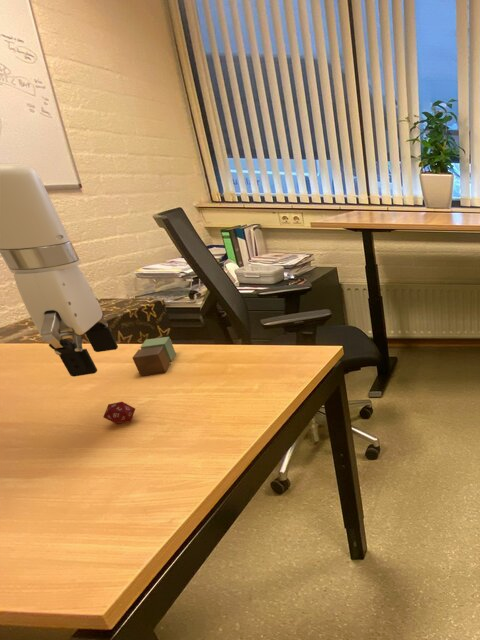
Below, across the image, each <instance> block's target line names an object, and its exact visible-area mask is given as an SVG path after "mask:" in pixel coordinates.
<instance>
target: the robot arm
mask: <svg viewBox="0 0 480 640" xmlns="http://www.w3.org/2000/svg"><path fill="white" fill-rule="evenodd" d="M0 255H1V258H2V259H3V261H4V263H5V265H6V266H7V267H8V270H9V272H10V273H12V274H13V278H14V281H15V284H16V287H17V290H18V293H19V295H20V298H21V300H22V302H23V304H24V306H25V309H26V310H27V313H28V314H29V316H30V319H31V321H32V323H33V324H34V326H35V328H36V330H37V332H38V333H39V336H40V337H41V338H42V339H43V340H44V341H45V342H46V343H48V346H49V348H50V349H52V350H54V354H56V355H57V356H59V358H60V360H61V362H62V363H63V365H64V367H65V368H66V371H67V373H68V374H69V376H71V377H74V378H75V377H81V376H87V375H93V374H96V373H98V368H97V367H96V365H95V362H94V361H93V359H92V357H91V355H90V353H89V351H88V349H87V348H83V342H82V341H83V340H82V335H85V336H86V338H87V340H88V341H89V344H90V347H92V349H93V351H94V352H95V353H101V352H109V351H116V350H118V349H119V345H118V343H117V341H116V340H115V337H114V335H113V334H112V333H113V332H112V331H111V329H110V327H109V323H108V321H107V320H106V319H105V318H104V315H105V313H104V311H103V310H102V308H101V305H100V300H99V299H98V297H97V296H96V295H95V293H94V290H93V289H92V287H91V285H90V282H88V279H87V278H86V276H85V275H84V273H83V271H82V270H81V268H80V265H81V264H82V262H81V260H80V258H79V256H78V253H77V252H76V249H75V247H74V245H73V243H72V241H71V239H70V237H69V235H68V233H67V230H66V229H65V226H64V224H63V222H62V220H61V217H60V216H59V214H58V212H57V210H56V208H55V206H54V204H53V202H52V200H51V197H50V195H49V193H48V191H47V189H46V187H45V185H44V183H43V181H42V179H41V177H40V174H39V173H38V172H37V171H36V170H35V169H34V168H32V167H31V166H30V165H27V164H24V163H19V162H0ZM68 339H71V340H72V341H70V340H68Z"/></svg>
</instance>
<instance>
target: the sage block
mask: <svg viewBox="0 0 480 640" xmlns="http://www.w3.org/2000/svg"><path fill="white" fill-rule="evenodd" d="M162 346H163V348H164V350H165V353H166V355H167V358H168V360H169V363H171V362H173V360H174V358H175V357H176V355H177V352H176V350H175V348H174V345H173V343H172V340H171V338H170V336H164V337H163V336H162V337H155V338H148V339H145V340H144V341H143V343H142V344H141V345H140V349H147V348H155V347H162Z"/></svg>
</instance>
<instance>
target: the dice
mask: <svg viewBox="0 0 480 640" xmlns="http://www.w3.org/2000/svg"><path fill="white" fill-rule="evenodd" d="M135 411H136V408H135V407H134V406H131V405H129V404H128V403H126V402H124V401H118V402H114V403H108V404H107V406H106V409H105V412H104V414H103V417H102V418H103V419H106V420H108V421H109V422H112V423H114V424H115V425H119V424H120V425H121V424H125V423H130V422H132V420H133V416H134V414H135Z"/></svg>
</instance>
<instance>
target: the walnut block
mask: <svg viewBox="0 0 480 640" xmlns="http://www.w3.org/2000/svg"><path fill="white" fill-rule="evenodd" d="M132 360H133V363H134V365H135V367H136V369H137V371H138V374H139V376H140V377H146V376H151V375H158V374H166V373H167V370H168V369H169V367H170V365H171V362H169V360H168V358H167V355H166V353H165V350H164V348H163V346H162V347H155V348H147V349H141V348H140V349H137V350H136V352H135V354H134V355H132Z"/></svg>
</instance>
